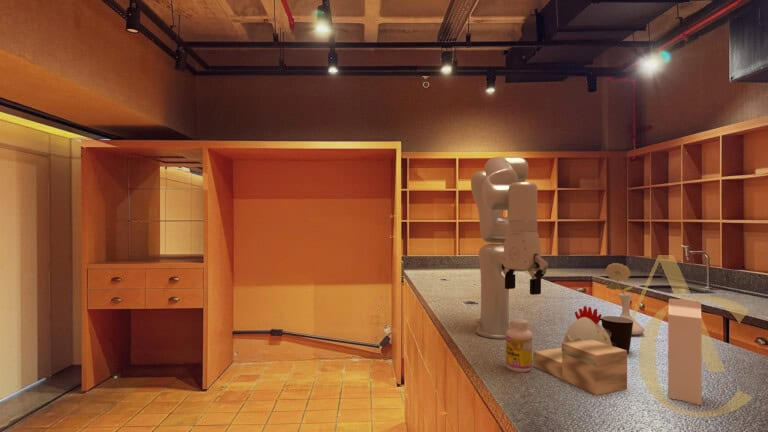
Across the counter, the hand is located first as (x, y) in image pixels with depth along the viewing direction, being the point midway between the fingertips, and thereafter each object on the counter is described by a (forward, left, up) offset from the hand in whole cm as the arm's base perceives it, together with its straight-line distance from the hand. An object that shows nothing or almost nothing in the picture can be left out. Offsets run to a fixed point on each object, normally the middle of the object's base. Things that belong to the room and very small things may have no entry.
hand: (522, 291), depth 110 cm
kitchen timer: (0, +24, -21) cm, 32 cm away
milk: (+28, +22, -21) cm, 41 cm away
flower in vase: (-16, +60, -21) cm, 66 cm away
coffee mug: (-2, +38, -21) cm, 44 cm away
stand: (+10, +9, -21) cm, 25 cm away
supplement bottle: (0, -1, -21) cm, 21 cm away
